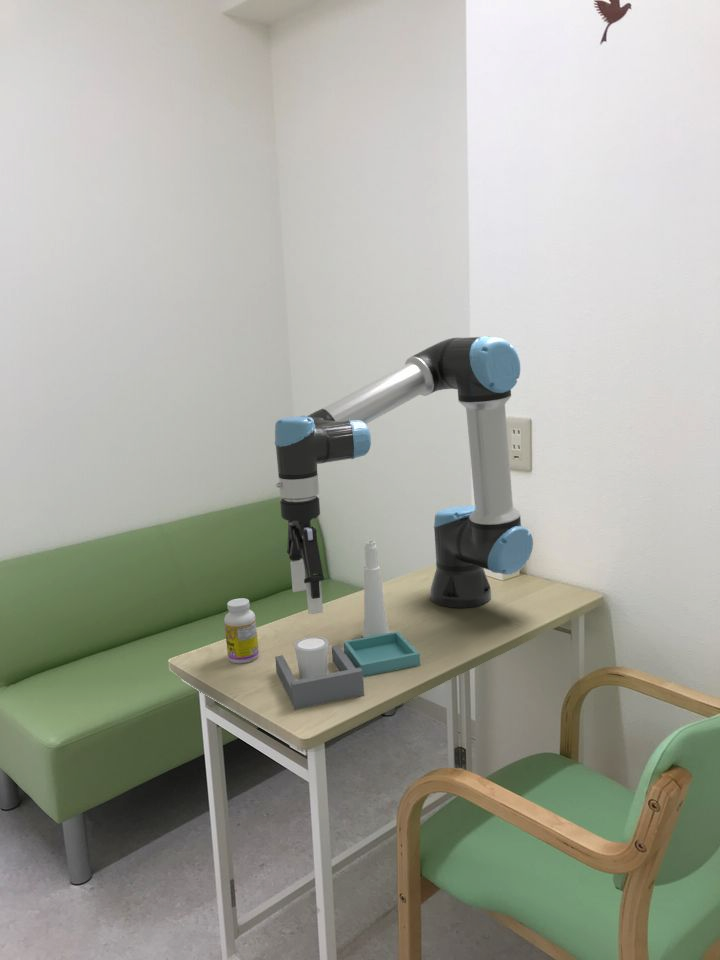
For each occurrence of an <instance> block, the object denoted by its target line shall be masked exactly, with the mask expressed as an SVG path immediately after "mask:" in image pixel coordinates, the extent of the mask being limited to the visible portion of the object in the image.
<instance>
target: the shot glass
mask: <svg viewBox="0 0 720 960" xmlns="http://www.w3.org/2000/svg"><path fill="white" fill-rule="evenodd" d="M294 650H295V656H296V657H295V658H296V662H297V667H298V674H299V679H304V678H310V677H315V676H320V675H325V674H329V673H328V672H329V669H328V668H329V667H328V666H329V641H328V639H326V638H325V637H320V636H309V637H308V636H307V637H305V638H301V639H299V640H297V641H295V643H294Z"/></svg>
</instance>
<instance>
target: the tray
mask: <svg viewBox="0 0 720 960" xmlns="http://www.w3.org/2000/svg"><path fill="white" fill-rule="evenodd" d="M342 643H343V651H344V653H345V654H346V655H347V657H348V658H349V659H350V661H351V662H352V664H353V665H354V666H355V668H361V669H362V671H363V677H368V676H373V675H377V674H382V673H387V672H393V671H397V670H398V671H399V670H402V669H407V668H412V667H417V666H420V665H421V660H420V659H421V658H420V657H421V656H420V654H421V653H419V651H417V649H416V648H415V647H414V646H413V645H412V644H411V643H410V642H409V641H408V640H407V638H405V637H404V636H403V635H402V633H401V632H399V631H398V630H397V631H392V632H389V633H386V634H381V635H376V636H370V637H365V638H364V637H360V638H355V639H350V640H345V641H343V642H342Z"/></svg>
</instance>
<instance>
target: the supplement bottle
mask: <svg viewBox="0 0 720 960" xmlns="http://www.w3.org/2000/svg"><path fill="white" fill-rule="evenodd" d="M226 606H227V610H228V613H226V614H225V616H224V619H223V620H224V622H223V623H224V630H225V631H224V632H225V641H226V650H227V658H228V660H229V661H230V662H231V663H234V664H248V663H251V662H253V661H255V660H257V658H259V656H260V655H259V652H260V651H259V650H260V649H259V642H258V631H257V630H258V629H257V622H256V620H257V619H256V615H255V612H254V611H252V610H251V609H250V606H251V604H250V600H249V599H248V598H244V597H242V598H234V599H231V600H229V601H228V602H227V604H226Z"/></svg>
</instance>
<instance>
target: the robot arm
mask: <svg viewBox="0 0 720 960" xmlns="http://www.w3.org/2000/svg"><path fill="white" fill-rule="evenodd" d="M520 375H521V360H520V357H519V355H518V352H517V350H516V349H515V347H514V346H513V345H512V344H511V343H509V341H508V340H505V339H504V338H500V337H494V336H493V337H491V336H487V335H486V336H473V337H471V336H470V337H469V336H468V337H452V338H447V339H444V340H442V341H440V342H437V343H435V344H433V345H431V346H429V347H427V348H425V349H423V350H421V351H419V352H417V353H416V354H414V355H412V356H410V357H408V358H407V359H406V360H405V363H404V365H402V366H401V367H399V368H396V369H395V370H393V371H391V372H389V373H387V374H386V375H383V376H381V377H379V378H378V379H376V380H373V381H372V382H370V383H368V384H366V385H364V386H362V387H361V388H359V389H357V390H355V391H353V392H351V393H349V394H347V395H345V396H344V397H342V398H340V399H338V400H336V401H333V402H332V403H330V404H328V405H326V406H324V407H322V408H320V409H317V410H316V411H313V412H312V413H310V414H309V415H298V416H297V415H296V416H288V417H282V418H280V419H278V420H276V422H275V425H274V428H275V429H274V440H275V441H274V445H275V450H276V453H275V454H276V461H277V472H278V481H279V482H276V484H275V486H276V488H277V489H279V497H280V498H281V500H280V502H279V503H280V515H281V518H282V519H283V520H285V521H288V528H287V551H286V553H287V555H289V560H290V561H289V563H290V573H291V574H290V575H291V586H292V592H293V593H297V592H302V591H306V599H307V601H306V602H307V614H308V615H310V616H311V615H314V614H315V615H317V614H322V613H324V610H323V609H324V607H323V606H324V605H323V591H322V581H324V579H325V576H324V572H323V566H322V560H321V555H320V549H319V543H318V538H317V537H318V536H317V529H316V528H315V527H314V526H312V525H311V521H312V520H313V519H317V518H318V517H319V516H321V510H320V509H321V507H320V498H319V497H318V495H319V494H320V489H319V488H320V487H319V475H318V464H319V465H320V464H325V463H332V462H337V461H343V460H344V461H346V460H350V459H351V460H354V459H356V458H361V457H363V456H366V455H367V454H368V453H369V452H370V449H371V446H372V437H371V432H370V429H369V427H368V425H367V424H369V423H370V422H372V421H375V420H377V419H378V418H380V417H382V416H383V415H385V414H387V413H389V412H390V411H392V410H394V409H396V408H398V407H400V406H402V405H404V404H405V403H407V402H409V401H411V400H413V399H415V398H416V397H419V396H422V397H425V396H426V397H427V396H429V395H431V394H433V393H435V392H438V391H442V390H457V398H458V399H457V400H458V403H460V404H461V405H462V406H463V407H464V408H465V411H466V419H467V420H466V421H467V433H468V443H469V445H468V446H469V456H470V465H471V466H470V467H471V479H472V488H473V499H474V505H461V506H453V507H448V508H444V509H443V508H442V509H441V510H438V511H437V512H436V513H435V515H434V526H433V528H434V531H433V532H434V546H435V549H434V550H435V560H436V563H435V572H434V575H433V579H432V582H431V586H430V590H429V591H430V600H432V602H433V603H434V604H437V605H440V606H444V607H449V608H457V609H459V608H462V609H463V608H473V607H478V606H480V605H484V604H486V603H487V602H489V601H490V600H491V599H492V588H491V586H490V582H489V579H488V577H487V573H486V571H485V570H488V571H490V572H492V573H495V574H502V575H509V576H510V575H512V574H516V573H517V572H519V571H520V570H521V569H522V568H523V567H525V565H526V564H527V562H528V561H529V559H530V558H531V556H532V552H533V548H534V547H533V546H534V538H533V535H532V533H531V532H530V531H529V530H528V529H527V528H526V527H525V526H523V525H522V522H521V513H520V511H519V510H518V509H516V507H514V505H513V504H514V503H513V492H512V491H513V490H512V480H511V479H512V477H511V468H510V454H509V453H510V452H509V440H508V439H509V438H508V427H507V425H508V424H507V416H506V415H507V414H506V404H507V402H508V401H509V400H510V399H511V397H512V389H513V388H514V387H515V386H516V385H517V383H518V380H517V379H519V378H520Z"/></svg>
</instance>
